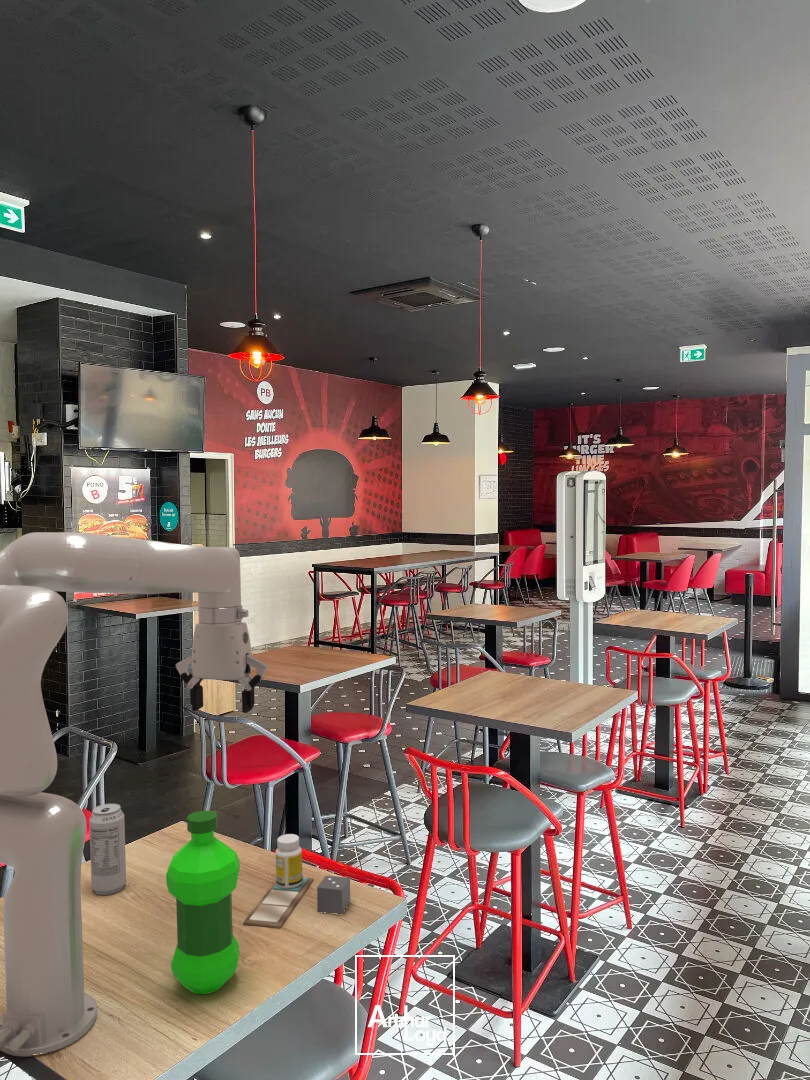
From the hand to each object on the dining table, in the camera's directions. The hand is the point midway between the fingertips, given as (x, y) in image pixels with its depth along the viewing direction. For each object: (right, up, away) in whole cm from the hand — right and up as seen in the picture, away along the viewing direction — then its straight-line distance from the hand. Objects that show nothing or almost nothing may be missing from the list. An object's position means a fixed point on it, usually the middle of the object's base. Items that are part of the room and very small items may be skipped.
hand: (222, 710), depth 144 cm
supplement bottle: (+12, -33, +2) cm, 35 cm away
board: (+11, -33, -3) cm, 35 cm away
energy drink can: (-22, -34, +3) cm, 40 cm away
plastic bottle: (+4, -35, -27) cm, 44 cm away
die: (+21, -33, -5) cm, 40 cm away
